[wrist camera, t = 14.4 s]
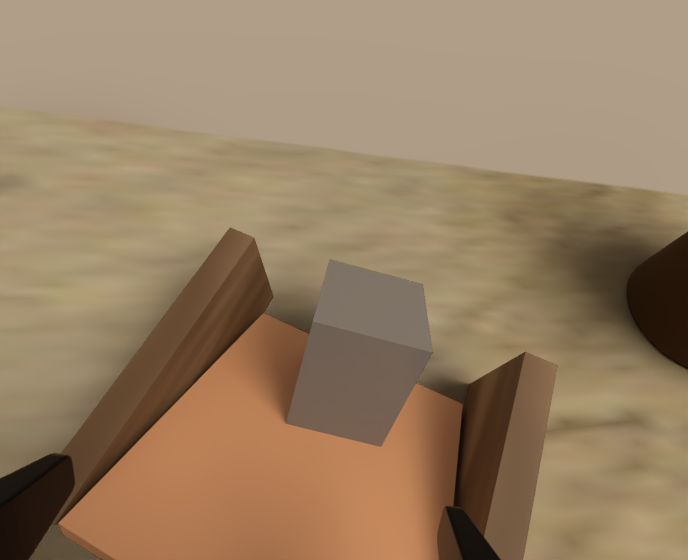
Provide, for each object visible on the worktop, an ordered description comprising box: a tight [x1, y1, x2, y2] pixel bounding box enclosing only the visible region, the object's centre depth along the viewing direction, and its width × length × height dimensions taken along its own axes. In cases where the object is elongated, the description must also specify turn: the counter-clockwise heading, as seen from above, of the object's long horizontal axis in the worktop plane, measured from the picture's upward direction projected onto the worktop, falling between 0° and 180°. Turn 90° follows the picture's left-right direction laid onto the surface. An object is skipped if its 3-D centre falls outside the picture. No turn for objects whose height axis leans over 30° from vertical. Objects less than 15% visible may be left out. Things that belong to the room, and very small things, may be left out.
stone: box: [286, 259, 433, 447], centre depth 18 cm, size 5×5×7 cm
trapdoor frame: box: [52, 228, 557, 560], centre depth 18 cm, size 18×14×8 cm
